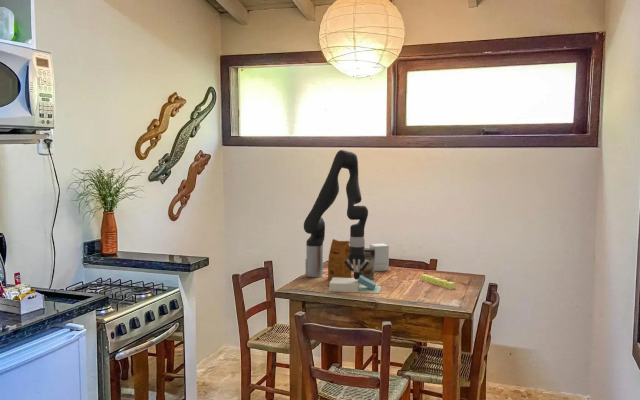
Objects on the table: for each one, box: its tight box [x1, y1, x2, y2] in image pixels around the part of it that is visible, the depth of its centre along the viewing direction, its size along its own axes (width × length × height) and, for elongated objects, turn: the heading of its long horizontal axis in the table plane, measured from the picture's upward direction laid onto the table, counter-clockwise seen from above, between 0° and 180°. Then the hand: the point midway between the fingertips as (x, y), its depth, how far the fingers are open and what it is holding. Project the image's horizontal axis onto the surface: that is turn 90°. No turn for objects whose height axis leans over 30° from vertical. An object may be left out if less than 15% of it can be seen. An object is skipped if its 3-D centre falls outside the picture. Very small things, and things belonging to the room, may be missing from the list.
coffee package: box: [327, 238, 352, 281], centre depth 282 cm, size 10×12×22 cm
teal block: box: [357, 275, 377, 290], centre depth 263 cm, size 9×6×2 cm, turn 81°
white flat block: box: [328, 277, 361, 293], centre depth 265 cm, size 14×13×4 cm
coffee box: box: [360, 247, 375, 280], centre depth 288 cm, size 9×6×16 cm
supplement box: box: [369, 243, 390, 272], centre depth 310 cm, size 9×9×15 cm
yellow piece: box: [420, 273, 456, 290], centre depth 277 cm, size 32×32×3 cm
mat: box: [357, 284, 382, 295], centre depth 263 cm, size 11×14×1 cm
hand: (356, 279), depth 263 cm, fingers closed
